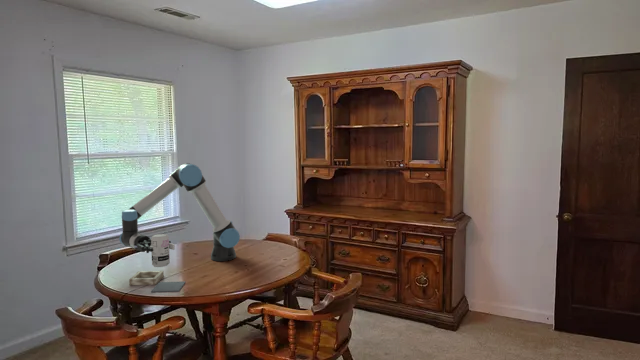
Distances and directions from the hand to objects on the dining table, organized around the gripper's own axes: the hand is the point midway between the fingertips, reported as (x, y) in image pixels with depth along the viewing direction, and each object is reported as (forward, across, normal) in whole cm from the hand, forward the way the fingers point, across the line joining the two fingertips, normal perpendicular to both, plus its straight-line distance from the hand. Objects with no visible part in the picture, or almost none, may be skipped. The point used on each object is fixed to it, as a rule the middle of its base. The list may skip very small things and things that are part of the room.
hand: (165, 248), depth 205 cm
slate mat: (-1, -1, -20) cm, 20 cm away
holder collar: (-18, 0, -20) cm, 27 cm away
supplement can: (-5, 0, -9) cm, 10 cm away
